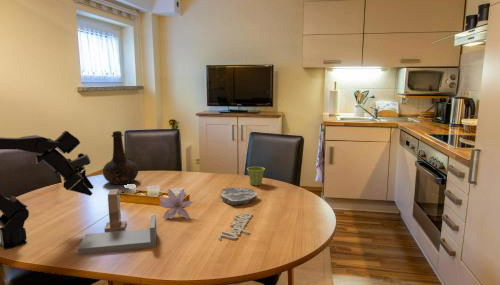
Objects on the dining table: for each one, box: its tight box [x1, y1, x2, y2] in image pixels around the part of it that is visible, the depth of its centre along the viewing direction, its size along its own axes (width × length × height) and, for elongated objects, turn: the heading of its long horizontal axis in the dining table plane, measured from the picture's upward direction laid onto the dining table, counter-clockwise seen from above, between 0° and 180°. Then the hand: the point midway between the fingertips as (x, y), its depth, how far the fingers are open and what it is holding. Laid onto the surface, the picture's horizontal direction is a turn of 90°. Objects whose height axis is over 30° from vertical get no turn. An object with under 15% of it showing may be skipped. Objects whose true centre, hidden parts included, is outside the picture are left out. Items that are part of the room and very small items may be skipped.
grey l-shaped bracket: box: [77, 214, 158, 256], centre depth 121 cm, size 24×11×7 cm, turn 103°
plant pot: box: [246, 166, 266, 187], centre depth 189 cm, size 9×9×9 cm
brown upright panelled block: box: [104, 188, 127, 233], centre depth 133 cm, size 6×7×14 cm
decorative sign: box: [217, 211, 253, 241], centre depth 136 cm, size 26×1×10 cm
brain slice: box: [220, 187, 258, 206], centre depth 167 cm, size 20×17×3 cm
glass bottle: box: [102, 130, 139, 185], centre depth 190 cm, size 18×18×28 cm
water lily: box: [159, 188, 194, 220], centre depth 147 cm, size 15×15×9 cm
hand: (92, 191), depth 133 cm, fingers open, 9 cm apart
